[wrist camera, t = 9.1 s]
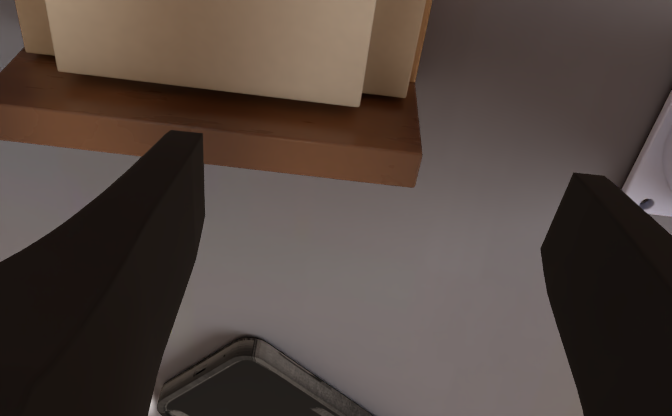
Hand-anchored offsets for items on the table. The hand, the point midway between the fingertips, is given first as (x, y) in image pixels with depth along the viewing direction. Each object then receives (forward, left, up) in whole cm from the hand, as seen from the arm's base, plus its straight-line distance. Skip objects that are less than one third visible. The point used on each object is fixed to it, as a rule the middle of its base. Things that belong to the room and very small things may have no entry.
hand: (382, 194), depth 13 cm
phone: (+1, +25, -10) cm, 27 cm away
